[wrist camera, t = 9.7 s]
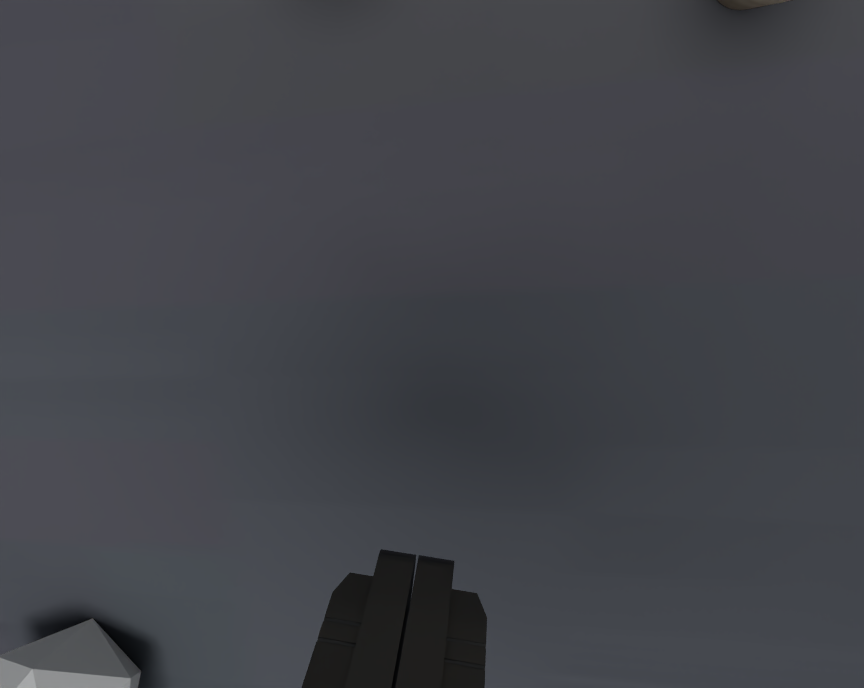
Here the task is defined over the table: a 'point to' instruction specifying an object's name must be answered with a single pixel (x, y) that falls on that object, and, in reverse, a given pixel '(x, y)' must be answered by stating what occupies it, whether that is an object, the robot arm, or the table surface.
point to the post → (748, 3)
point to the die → (69, 661)
